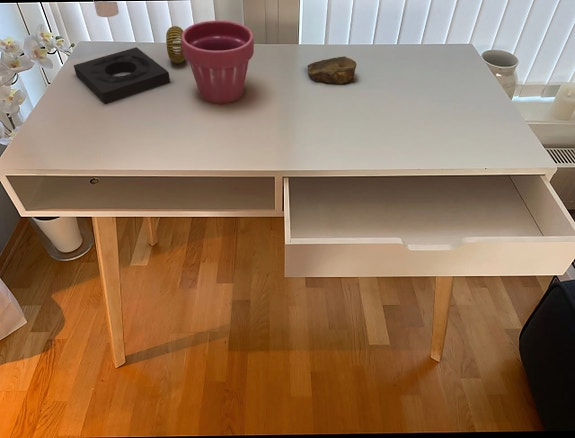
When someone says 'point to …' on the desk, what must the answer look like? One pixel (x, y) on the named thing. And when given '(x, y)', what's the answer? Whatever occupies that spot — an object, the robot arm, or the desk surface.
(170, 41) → the sculpture
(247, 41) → the flower pot
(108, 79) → the base pad
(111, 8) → the tube
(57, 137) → the desk surface
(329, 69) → the decorative stone
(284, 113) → the desk surface
